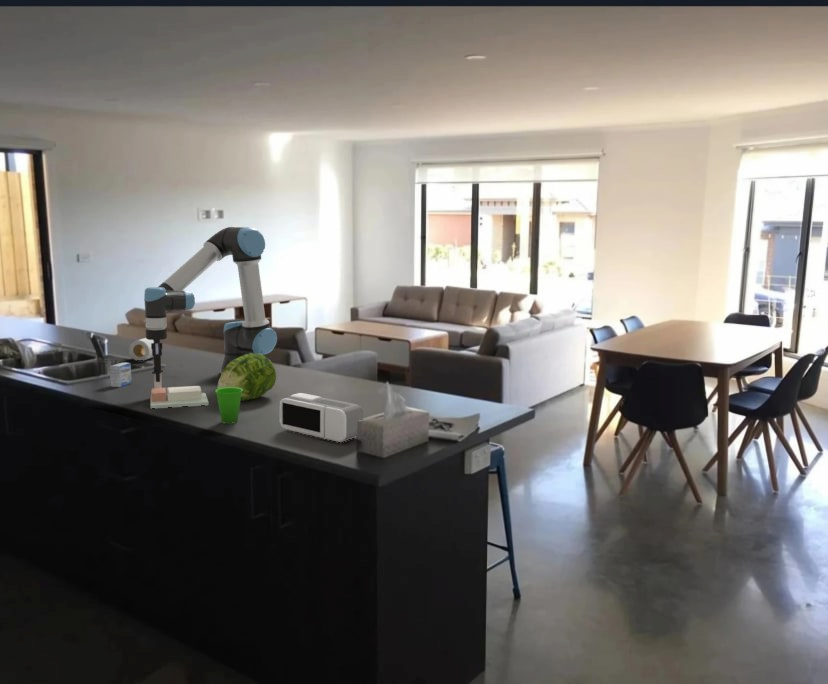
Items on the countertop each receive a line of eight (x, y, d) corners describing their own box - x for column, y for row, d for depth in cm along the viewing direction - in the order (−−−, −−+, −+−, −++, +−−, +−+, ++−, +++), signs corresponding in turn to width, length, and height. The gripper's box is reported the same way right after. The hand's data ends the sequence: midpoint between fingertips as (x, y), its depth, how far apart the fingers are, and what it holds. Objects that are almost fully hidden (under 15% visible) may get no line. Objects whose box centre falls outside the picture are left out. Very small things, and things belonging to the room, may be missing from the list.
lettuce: (205, 401, 275) (204, 360, 269) (250, 381, 294) (251, 342, 287) (238, 417, 267) (238, 375, 260) (282, 396, 285) (284, 356, 279)
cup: (218, 418, 252) (217, 386, 250) (245, 418, 252) (244, 387, 251) (213, 425, 243) (212, 393, 241) (241, 425, 244) (240, 393, 242)
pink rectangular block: (165, 395, 277) (165, 387, 276) (166, 400, 269) (166, 392, 268) (151, 396, 275) (151, 388, 275) (151, 401, 267) (151, 393, 266)
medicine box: (120, 387, 293) (119, 366, 292) (110, 386, 294) (109, 365, 293) (131, 383, 301) (130, 362, 299) (121, 382, 302) (121, 362, 300)
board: (205, 395, 282) (205, 392, 282) (208, 405, 269) (208, 402, 268) (150, 399, 276) (150, 395, 275) (150, 408, 262) (150, 405, 262)
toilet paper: (140, 356, 358) (139, 336, 356) (159, 357, 357) (159, 337, 355) (129, 360, 348) (128, 339, 347) (149, 361, 347) (148, 340, 345)
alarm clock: (279, 430, 239) (278, 395, 237) (298, 424, 246) (298, 390, 244) (344, 446, 224) (344, 408, 222) (363, 439, 232) (363, 402, 230)
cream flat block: (200, 393, 281) (199, 385, 281) (201, 398, 273) (201, 390, 272) (167, 395, 277) (166, 387, 277) (167, 400, 269) (167, 392, 268)
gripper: (145, 326, 281) (147, 386, 284) (145, 331, 268) (147, 394, 272) (166, 325, 283) (168, 385, 287) (167, 330, 271) (168, 392, 275)
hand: (158, 389), depth 280 cm, fingers closed
